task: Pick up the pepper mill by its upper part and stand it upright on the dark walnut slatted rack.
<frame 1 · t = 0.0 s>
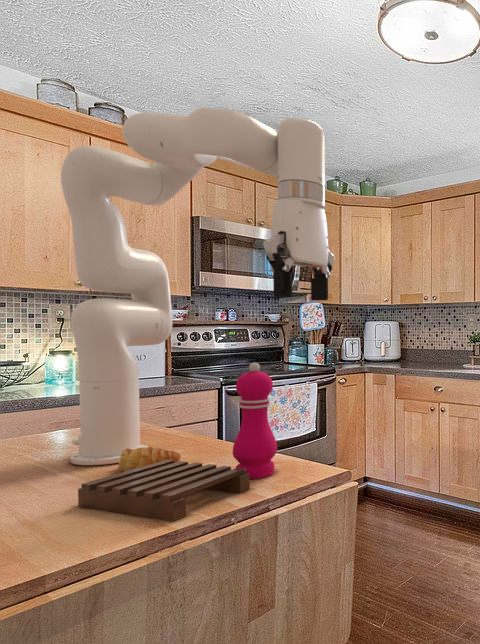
hand: (302, 298, 85), 31 cm above the counter, tool pointing down, fingers open, 9 cm apart
rack: (168, 497, 76), on the counter
pastry: (146, 468, 92), on the counter
pepper mill: (255, 475, 89), on the counter
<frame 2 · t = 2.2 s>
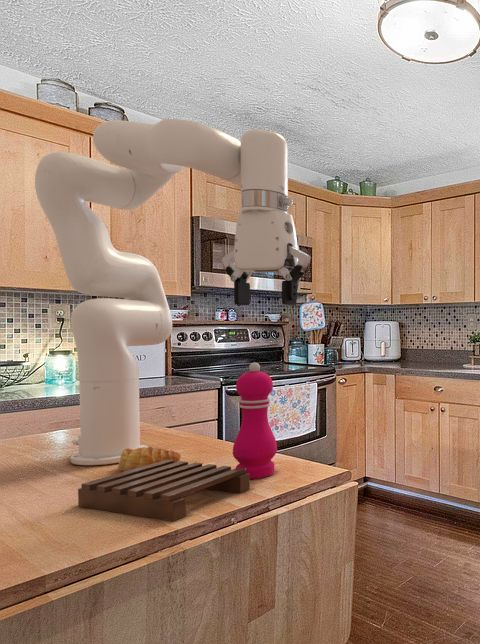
hand: (265, 304, 87), 30 cm above the counter, tool pointing down, fingers open, 9 cm apart
nothing on the counter moved.
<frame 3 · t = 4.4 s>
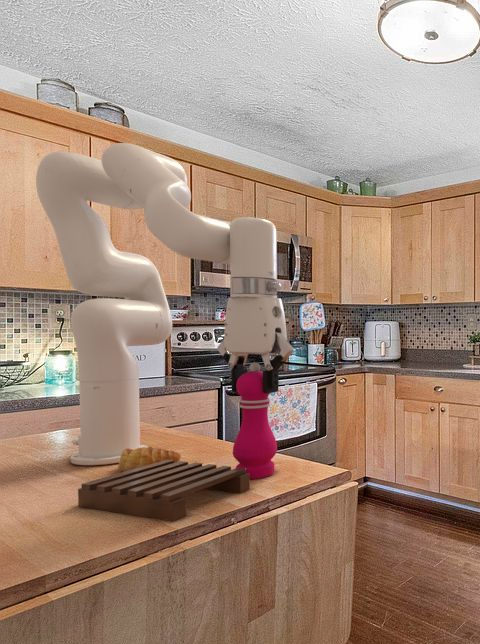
hand: (255, 390, 88), 15 cm above the counter, tool pointing down, fingers closed on pepper mill, 6 cm apart
pepper mill: (255, 475, 89), on the counter, touching gripper
everything else where it was.
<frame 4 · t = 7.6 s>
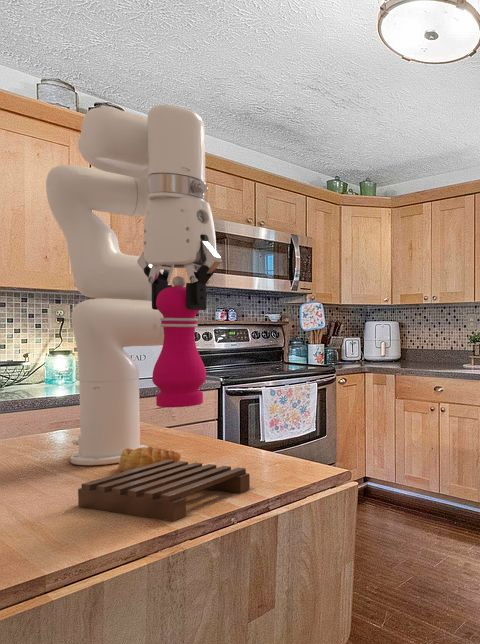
hand: (179, 308, 77), 29 cm above the counter, tool pointing down, fingers closed on pepper mill, 6 cm apart
pepper mill: (180, 405, 78), point 14 cm above the counter, touching gripper
everything else where it was.
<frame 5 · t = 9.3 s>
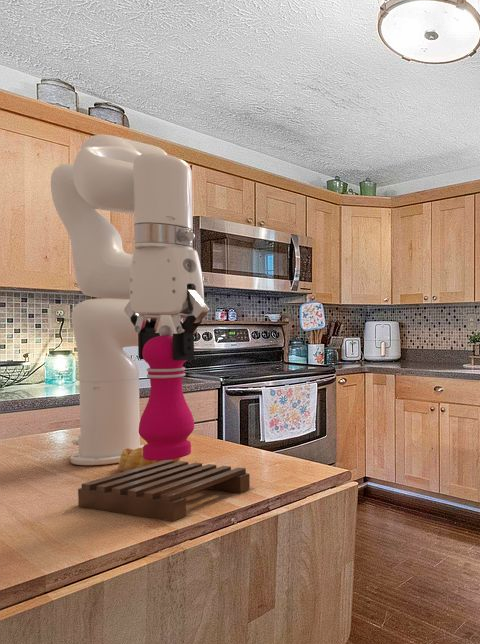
hand: (166, 358, 76), 22 cm above the counter, tool pointing down, fingers closed on pepper mill, 6 cm apart
pepper mill: (167, 456, 76), point 6 cm above the counter, touching gripper
everything else where it was.
when the fingers open (18 cm above the counter, at t = 10.7 s): pepper mill stays where it is, resting on rack.
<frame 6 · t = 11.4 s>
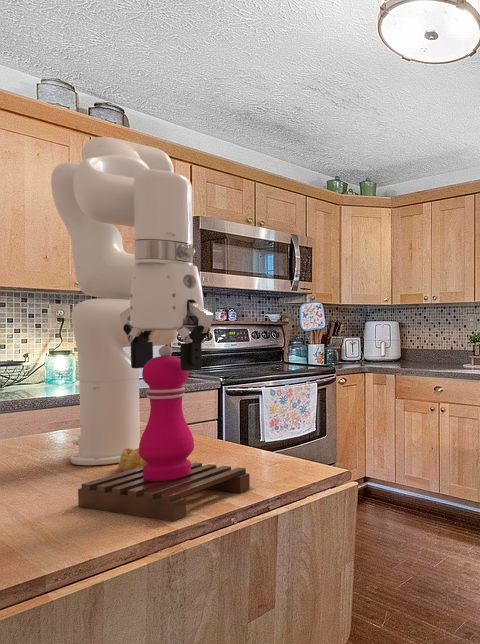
hand: (166, 368, 76), 20 cm above the counter, tool pointing down, fingers open, 9 cm apart
pepper mill: (167, 476, 76), point 3 cm above the counter, touching rack
everything else where it was.
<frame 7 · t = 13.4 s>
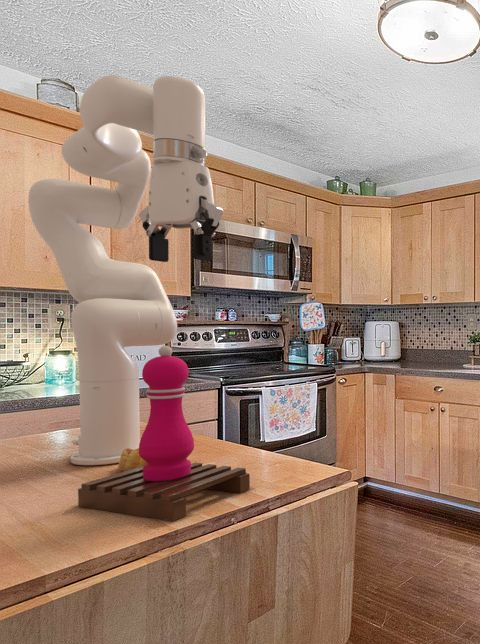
hand: (180, 260, 84), 38 cm above the counter, tool pointing down, fingers open, 9 cm apart
nothing on the counter moved.
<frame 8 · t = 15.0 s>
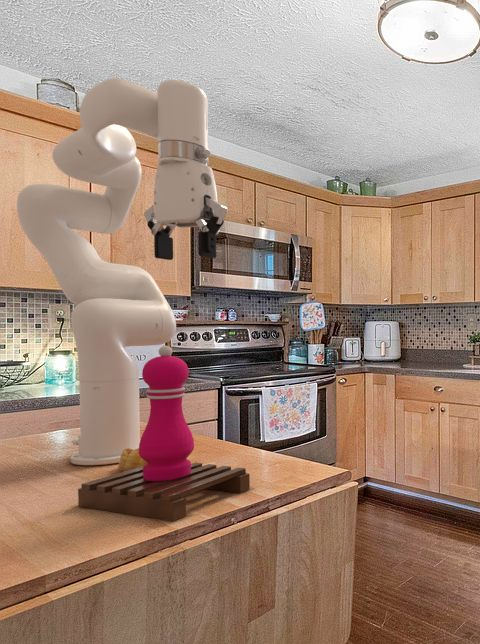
hand: (185, 257, 87), 38 cm above the counter, tool pointing down, fingers open, 9 cm apart
nothing on the counter moved.
at the end: pepper mill inside the target area on the rack (0.1 cm from its centre), point 3.2 cm above the rack's base; pepper mill tilted 0°; the gripper is holding nothing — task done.
